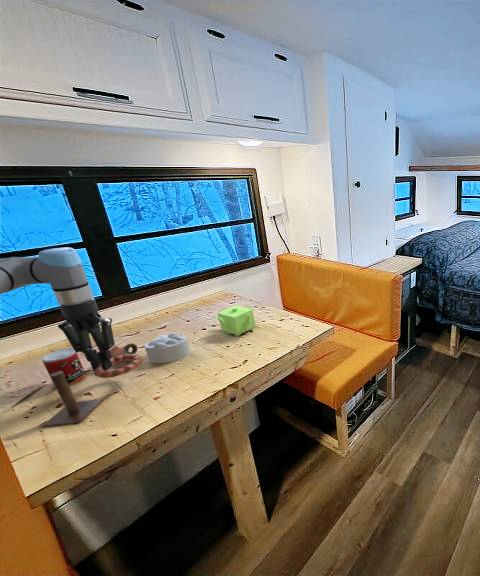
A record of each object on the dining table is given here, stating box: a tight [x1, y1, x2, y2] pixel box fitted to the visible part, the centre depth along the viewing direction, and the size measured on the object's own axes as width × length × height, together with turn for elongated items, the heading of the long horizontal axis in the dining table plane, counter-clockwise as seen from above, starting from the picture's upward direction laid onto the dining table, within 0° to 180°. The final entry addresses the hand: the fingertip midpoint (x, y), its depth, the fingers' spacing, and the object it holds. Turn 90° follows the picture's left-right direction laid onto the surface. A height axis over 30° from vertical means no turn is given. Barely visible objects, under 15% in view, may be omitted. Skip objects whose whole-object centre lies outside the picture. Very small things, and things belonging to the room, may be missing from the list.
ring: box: [94, 353, 143, 379], centre depth 98 cm, size 12×12×2 cm
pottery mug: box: [109, 342, 138, 369], centre depth 111 cm, size 12×10×8 cm
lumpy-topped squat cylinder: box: [144, 331, 192, 364], centre depth 114 cm, size 10×13×9 cm
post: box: [42, 371, 104, 428], centre depth 85 cm, size 9×9×14 cm
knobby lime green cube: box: [214, 305, 256, 337], centre depth 132 cm, size 15×14×11 cm
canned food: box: [41, 347, 87, 387], centre depth 100 cm, size 8×8×11 cm
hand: (103, 368), depth 97 cm, fingers closed on ring, 2 cm apart
